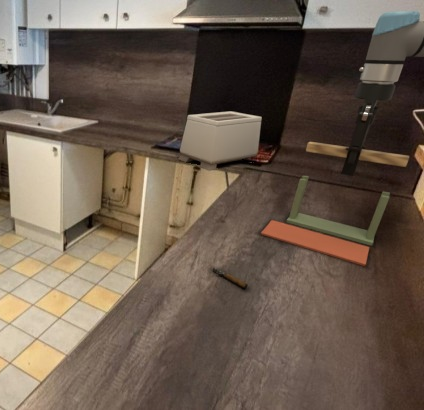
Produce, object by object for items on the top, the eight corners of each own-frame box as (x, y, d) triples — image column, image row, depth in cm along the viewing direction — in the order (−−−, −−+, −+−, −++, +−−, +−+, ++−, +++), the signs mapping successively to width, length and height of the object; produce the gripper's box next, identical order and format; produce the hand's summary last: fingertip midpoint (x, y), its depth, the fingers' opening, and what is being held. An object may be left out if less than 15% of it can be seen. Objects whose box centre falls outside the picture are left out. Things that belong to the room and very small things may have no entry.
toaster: (260, 160, 168) (270, 116, 160) (209, 170, 153) (217, 122, 144) (227, 151, 184) (235, 110, 175) (177, 159, 168) (183, 114, 160)
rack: (374, 235, 101) (391, 191, 96) (371, 246, 96) (390, 199, 90) (292, 214, 114) (303, 173, 108) (286, 222, 108) (297, 180, 102)
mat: (368, 249, 94) (369, 247, 94) (364, 266, 86) (365, 264, 86) (271, 221, 108) (271, 219, 108) (260, 234, 100) (261, 232, 100)
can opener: (247, 288, 77) (248, 283, 77) (240, 291, 76) (241, 286, 76) (215, 267, 85) (216, 263, 84) (208, 269, 84) (209, 265, 83)
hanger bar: (405, 165, 90) (409, 155, 89) (405, 167, 89) (409, 157, 88) (307, 149, 103) (309, 141, 102) (305, 151, 102) (307, 143, 101)
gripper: (361, 79, 96) (336, 164, 105) (355, 83, 85) (327, 176, 94) (397, 81, 91) (367, 169, 101) (395, 85, 81) (361, 183, 90)
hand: (347, 172), depth 98 cm, fingers closed on hanger bar, 2 cm apart
